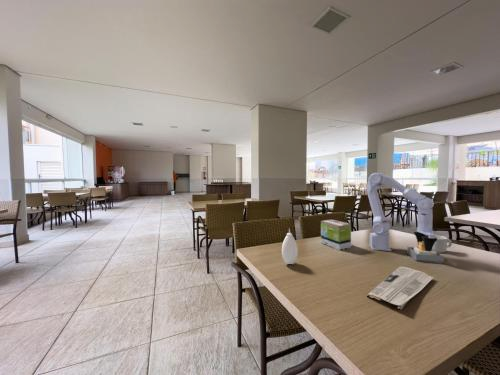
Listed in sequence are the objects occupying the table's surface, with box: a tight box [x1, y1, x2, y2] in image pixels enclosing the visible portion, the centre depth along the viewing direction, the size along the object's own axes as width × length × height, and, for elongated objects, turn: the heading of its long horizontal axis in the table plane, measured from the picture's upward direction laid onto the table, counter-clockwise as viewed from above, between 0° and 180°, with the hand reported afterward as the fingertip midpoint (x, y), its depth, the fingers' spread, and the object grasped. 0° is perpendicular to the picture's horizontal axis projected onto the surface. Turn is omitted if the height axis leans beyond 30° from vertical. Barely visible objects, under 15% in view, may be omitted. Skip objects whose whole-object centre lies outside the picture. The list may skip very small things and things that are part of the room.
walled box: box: [406, 246, 445, 264], centre depth 106 cm, size 11×11×4 cm
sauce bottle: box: [281, 228, 299, 265], centre depth 102 cm, size 8×8×18 cm
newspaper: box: [367, 266, 435, 311], centre depth 79 cm, size 35×12×4 cm, turn 129°
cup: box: [432, 234, 453, 254], centre depth 114 cm, size 11×8×8 cm
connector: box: [417, 241, 425, 251], centre depth 106 cm, size 4×4×8 cm
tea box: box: [320, 218, 352, 251], centre depth 128 cm, size 15×10×15 cm, turn 25°
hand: (424, 248), depth 106 cm, fingers open, 7 cm apart
